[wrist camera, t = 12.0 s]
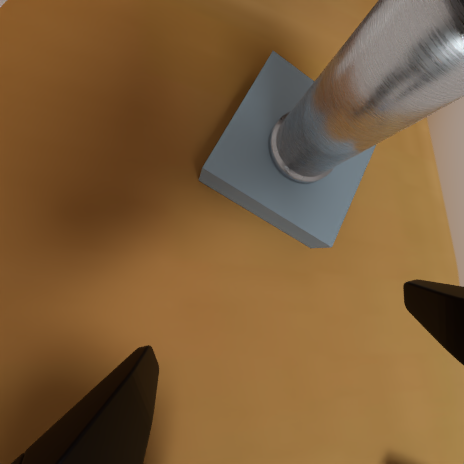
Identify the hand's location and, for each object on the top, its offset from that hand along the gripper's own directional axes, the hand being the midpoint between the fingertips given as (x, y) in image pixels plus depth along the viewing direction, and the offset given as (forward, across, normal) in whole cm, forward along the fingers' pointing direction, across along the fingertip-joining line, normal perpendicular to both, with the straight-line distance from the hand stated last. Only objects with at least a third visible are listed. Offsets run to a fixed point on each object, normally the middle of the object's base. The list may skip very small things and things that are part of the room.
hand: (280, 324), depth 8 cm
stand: (+15, -6, -6) cm, 17 cm away
